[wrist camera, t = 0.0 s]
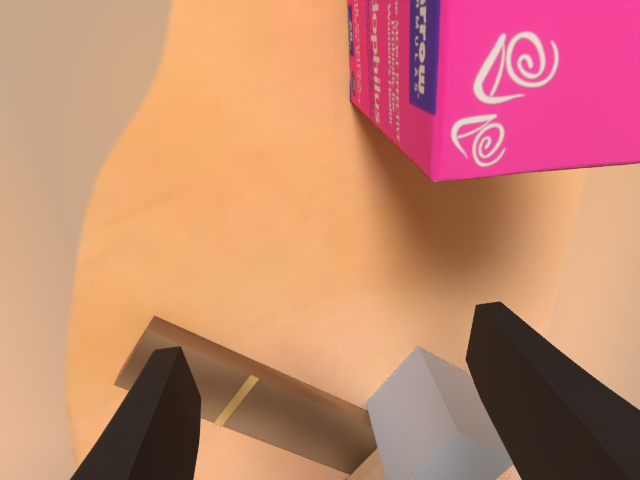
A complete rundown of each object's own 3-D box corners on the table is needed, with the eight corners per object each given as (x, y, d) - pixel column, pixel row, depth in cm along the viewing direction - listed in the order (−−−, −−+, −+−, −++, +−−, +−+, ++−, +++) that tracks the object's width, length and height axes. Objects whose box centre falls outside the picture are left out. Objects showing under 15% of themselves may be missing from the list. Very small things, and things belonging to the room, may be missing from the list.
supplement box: (335, -57, 16) (454, -233, 6) (489, -67, 16) (870, -249, 6) (343, 105, 18) (433, 191, 8) (476, 93, 19) (726, 160, 8)
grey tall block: (363, 475, 29) (384, 575, 24) (315, 457, 28) (325, 558, 22) (466, 371, 26) (518, 460, 20) (417, 345, 25) (458, 431, 19)
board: (422, 487, 30) (428, 505, 29) (121, 368, 23) (113, 386, 22) (459, 452, 29) (467, 469, 28) (154, 315, 22) (148, 331, 21)
